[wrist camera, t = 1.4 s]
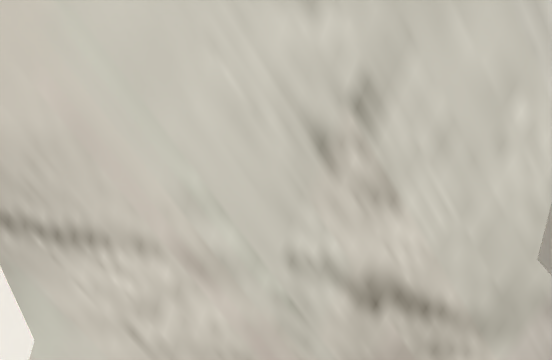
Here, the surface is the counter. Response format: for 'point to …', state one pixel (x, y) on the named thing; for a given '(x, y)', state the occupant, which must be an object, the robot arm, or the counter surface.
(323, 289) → the counter surface
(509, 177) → the counter surface
